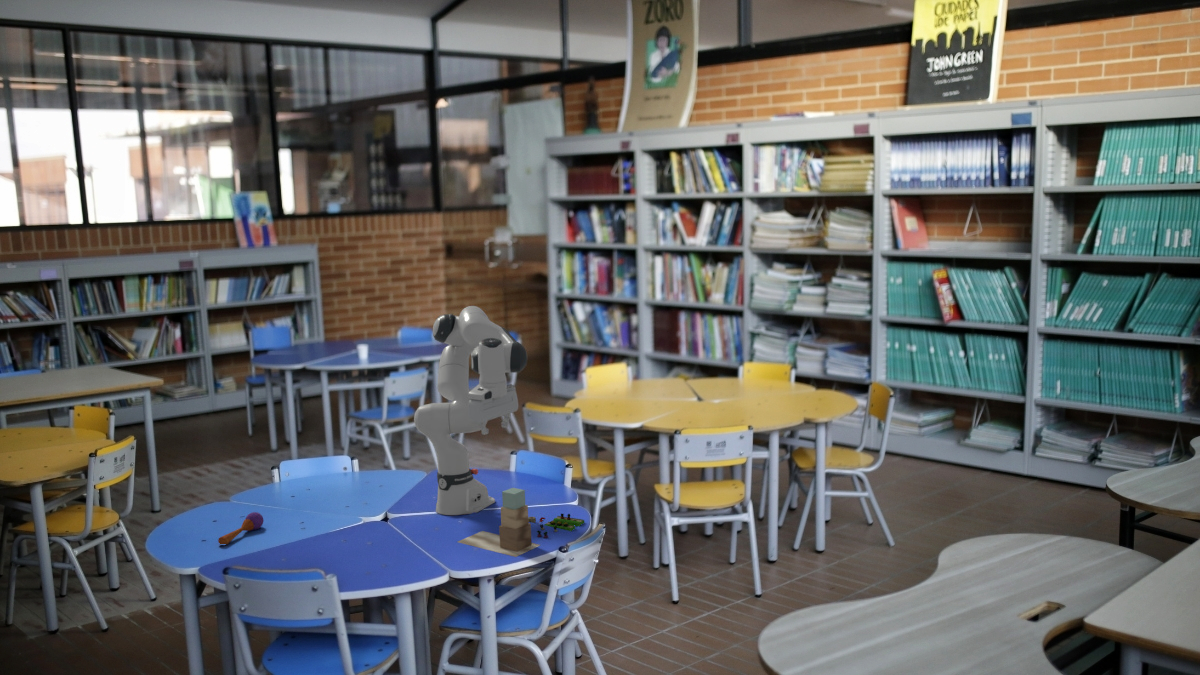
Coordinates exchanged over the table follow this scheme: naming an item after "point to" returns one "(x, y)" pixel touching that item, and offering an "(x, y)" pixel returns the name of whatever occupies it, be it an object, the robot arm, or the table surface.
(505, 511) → the oak middle block
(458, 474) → the robot arm
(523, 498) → the sage cube
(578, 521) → the toy garden set
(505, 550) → the birch board
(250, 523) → the orange and purple maraca
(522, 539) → the walnut base block
